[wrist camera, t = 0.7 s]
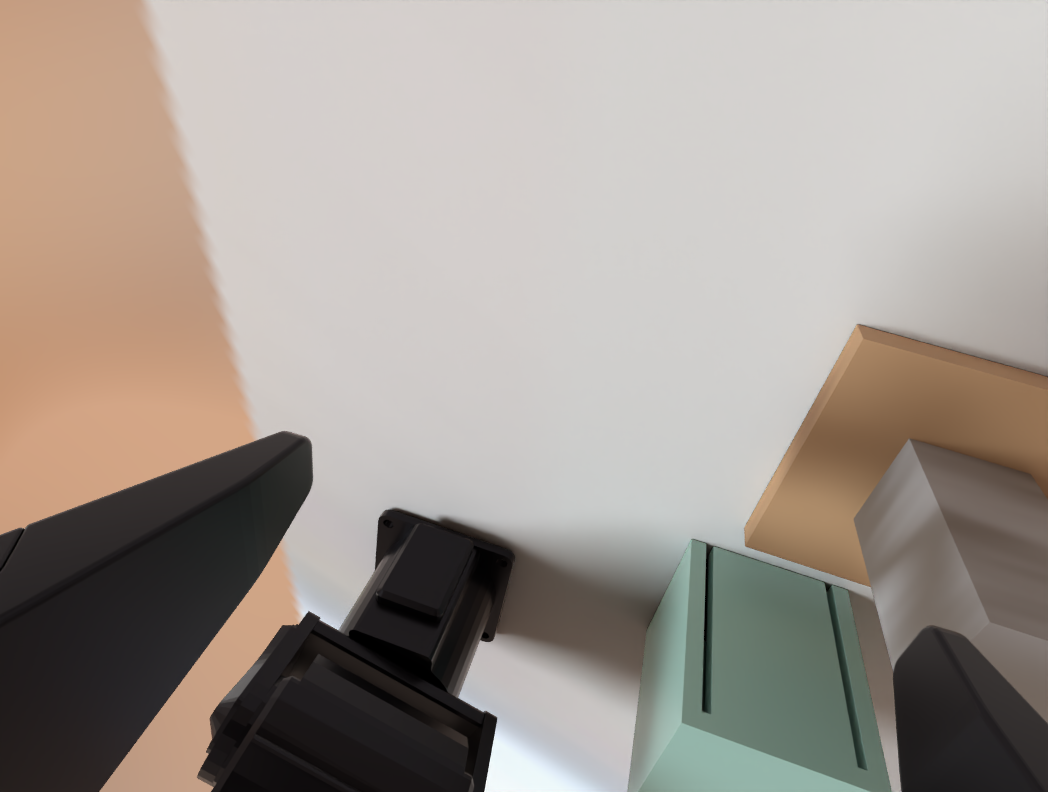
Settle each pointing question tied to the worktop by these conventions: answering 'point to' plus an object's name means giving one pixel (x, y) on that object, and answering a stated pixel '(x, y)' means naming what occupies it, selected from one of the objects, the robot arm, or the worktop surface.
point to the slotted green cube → (753, 685)
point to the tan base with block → (925, 498)
